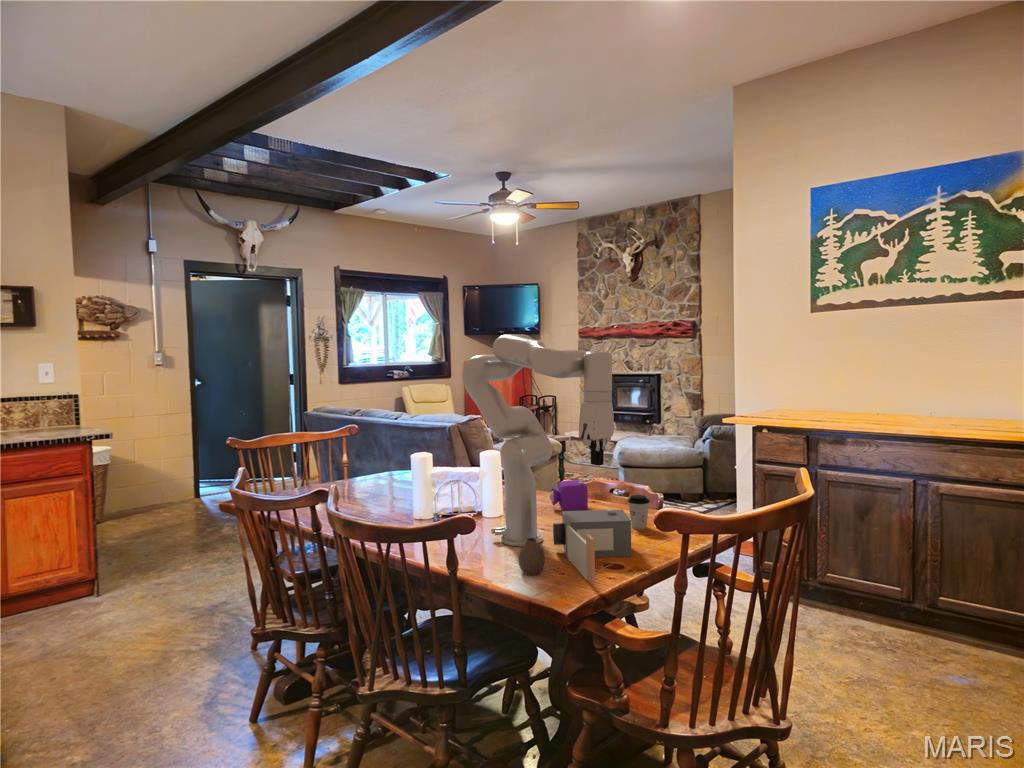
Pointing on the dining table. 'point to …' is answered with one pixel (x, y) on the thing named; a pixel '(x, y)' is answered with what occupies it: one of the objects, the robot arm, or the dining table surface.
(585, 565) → the door
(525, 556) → the vase
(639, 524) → the coffee cup
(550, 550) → the dining table surface
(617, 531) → the camera housing
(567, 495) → the toy camera
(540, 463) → the robot arm
